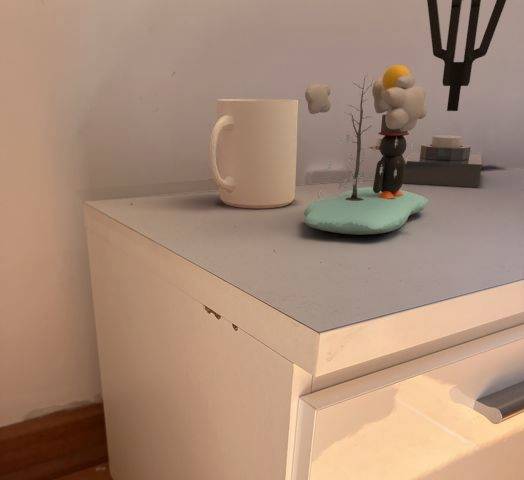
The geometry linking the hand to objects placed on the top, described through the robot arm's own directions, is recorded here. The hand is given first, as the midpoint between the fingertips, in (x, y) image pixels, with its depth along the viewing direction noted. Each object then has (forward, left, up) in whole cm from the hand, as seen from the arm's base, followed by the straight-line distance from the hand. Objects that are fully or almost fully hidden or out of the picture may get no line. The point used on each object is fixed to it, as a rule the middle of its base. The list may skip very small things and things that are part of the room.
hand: (452, 110), depth 85 cm
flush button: (0, 0, -5) cm, 5 cm away
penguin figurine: (+6, +35, -10) cm, 37 cm away
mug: (+21, +30, -10) cm, 38 cm away
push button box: (0, 0, -10) cm, 10 cm away
